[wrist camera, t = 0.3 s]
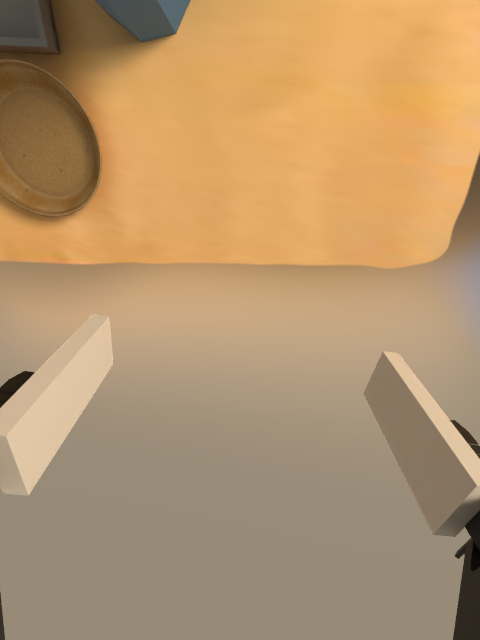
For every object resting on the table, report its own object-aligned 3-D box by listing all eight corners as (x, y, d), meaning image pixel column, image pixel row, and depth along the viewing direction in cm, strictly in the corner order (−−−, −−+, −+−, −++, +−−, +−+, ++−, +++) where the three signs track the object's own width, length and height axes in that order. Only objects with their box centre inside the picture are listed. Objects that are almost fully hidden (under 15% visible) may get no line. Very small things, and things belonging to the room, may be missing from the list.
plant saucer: (135, 151, 34) (127, 150, 32) (68, 237, 39) (57, 241, 37) (18, 27, 29) (-1, 16, 27) (-41, 143, 34) (-62, 142, 32)
